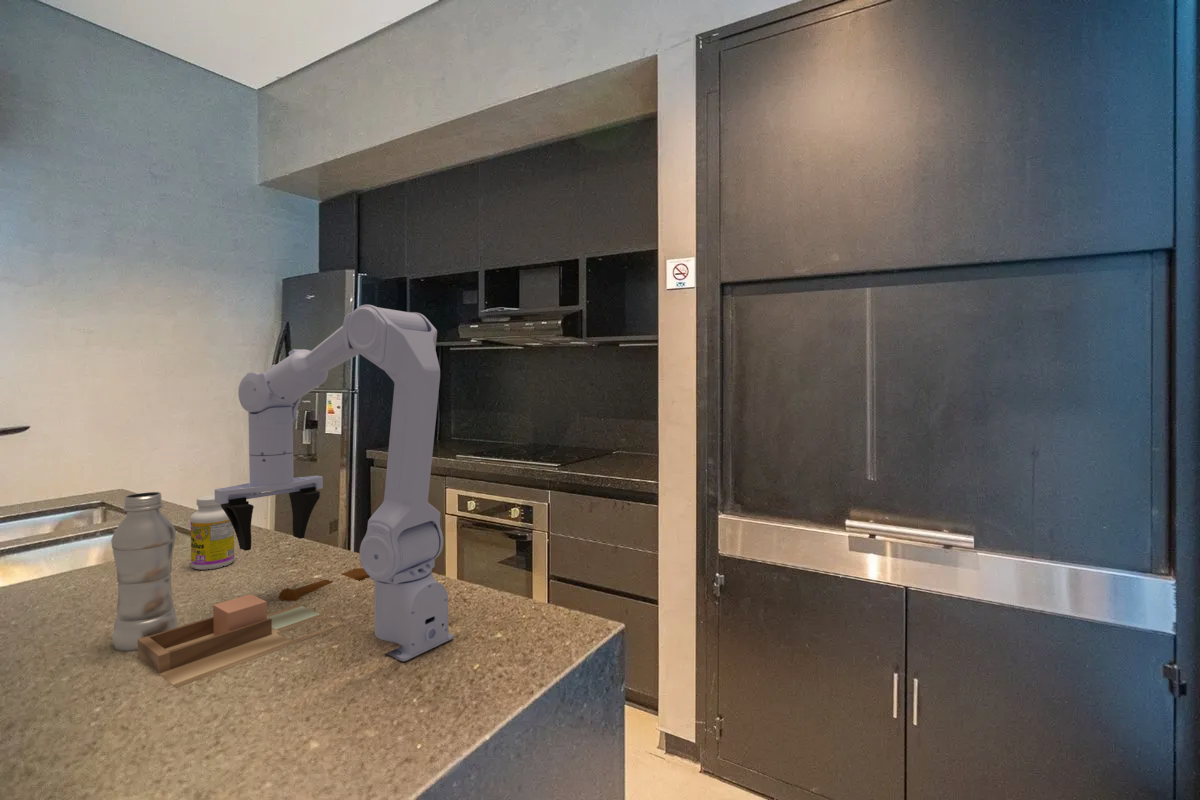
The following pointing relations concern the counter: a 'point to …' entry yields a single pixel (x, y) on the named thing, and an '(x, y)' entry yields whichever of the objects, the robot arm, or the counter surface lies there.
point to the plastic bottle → (143, 571)
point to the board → (221, 644)
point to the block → (238, 613)
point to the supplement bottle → (211, 536)
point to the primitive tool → (319, 585)
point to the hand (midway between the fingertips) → (273, 542)
